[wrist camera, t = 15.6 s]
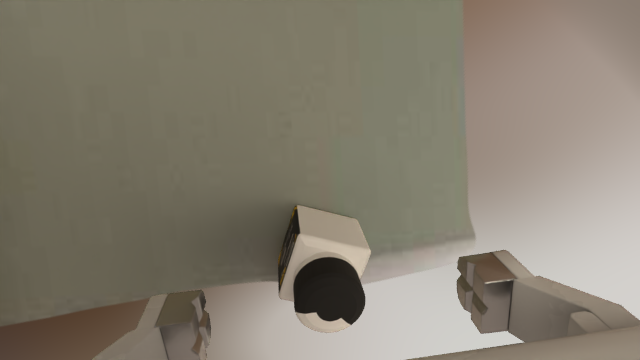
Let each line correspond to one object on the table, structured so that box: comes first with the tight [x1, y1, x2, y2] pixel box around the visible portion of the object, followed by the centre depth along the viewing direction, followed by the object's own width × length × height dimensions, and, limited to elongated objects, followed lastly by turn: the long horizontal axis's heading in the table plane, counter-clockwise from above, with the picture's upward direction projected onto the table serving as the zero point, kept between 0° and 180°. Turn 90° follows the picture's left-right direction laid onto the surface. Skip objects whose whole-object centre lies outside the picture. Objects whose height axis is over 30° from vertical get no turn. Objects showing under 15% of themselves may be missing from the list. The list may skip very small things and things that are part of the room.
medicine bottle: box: [278, 205, 371, 333], centre depth 40 cm, size 7×7×12 cm
